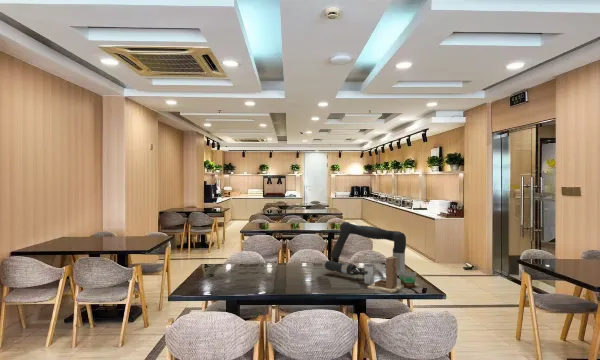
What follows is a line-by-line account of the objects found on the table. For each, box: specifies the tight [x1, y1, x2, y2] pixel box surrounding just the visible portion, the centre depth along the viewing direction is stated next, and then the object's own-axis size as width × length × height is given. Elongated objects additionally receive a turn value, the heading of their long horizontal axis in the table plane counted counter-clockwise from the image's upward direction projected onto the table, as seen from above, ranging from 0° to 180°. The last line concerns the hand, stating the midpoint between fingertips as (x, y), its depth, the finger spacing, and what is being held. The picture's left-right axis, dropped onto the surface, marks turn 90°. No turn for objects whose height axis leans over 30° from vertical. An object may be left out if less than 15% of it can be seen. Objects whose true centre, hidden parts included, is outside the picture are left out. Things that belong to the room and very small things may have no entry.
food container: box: [399, 271, 417, 289], centre depth 260 cm, size 12×6×10 cm, turn 101°
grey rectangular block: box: [363, 263, 374, 285], centre depth 269 cm, size 5×5×13 cm
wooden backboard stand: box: [366, 256, 405, 294], centre depth 257 cm, size 18×18×21 cm
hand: (367, 272), depth 270 cm, fingers open, 8 cm apart
